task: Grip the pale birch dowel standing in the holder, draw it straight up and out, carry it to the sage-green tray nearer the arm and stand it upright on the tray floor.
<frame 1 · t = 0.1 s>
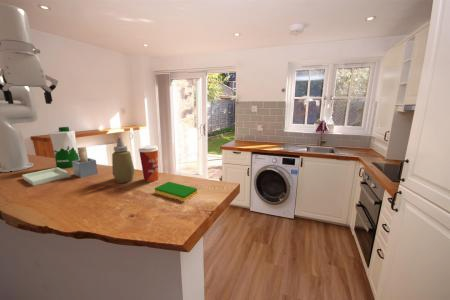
hand: (30, 103, 69), 31 cm above the table, fingers open, 9 cm apart
dowel: (86, 174, 89), point 1 cm above the table, touching holder
milk carton: (68, 167, 101), on the table
squeeze bottle: (124, 181, 83), on the table
holder: (86, 175, 89), on the table
paper cup: (151, 179, 84), on the table
tray: (47, 179, 85), on the table
dish sponge: (176, 195, 71), on the table
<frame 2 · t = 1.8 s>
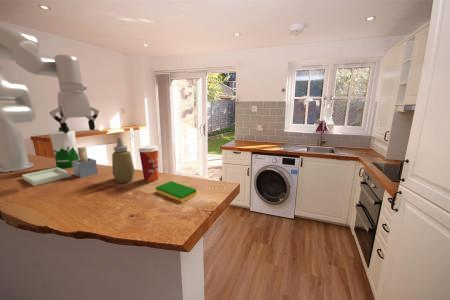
hand: (79, 131, 84), 20 cm above the table, fingers open, 9 cm apart
nothing on the table moved.
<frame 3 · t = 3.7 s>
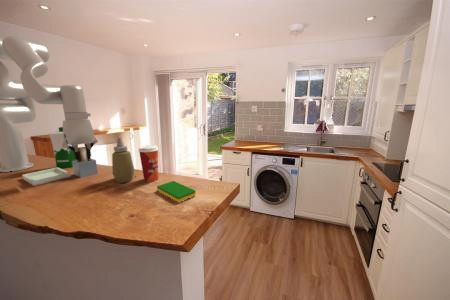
hand: (83, 159, 87), 8 cm above the table, fingers closed on dowel, 3 cm apart
dowel: (86, 174, 89), point 1 cm above the table, touching gripper, holder
everything else where it was.
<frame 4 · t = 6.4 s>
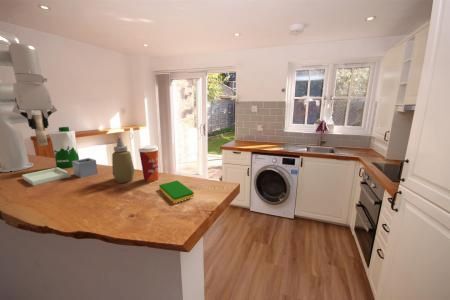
hand: (39, 128, 80), 22 cm above the table, fingers closed on dowel, 3 cm apart
dowel: (43, 144, 82), point 15 cm above the table, touching gripper
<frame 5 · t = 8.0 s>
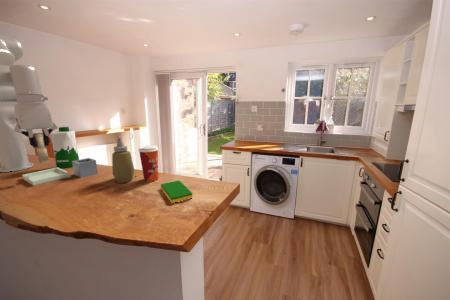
hand: (40, 145, 81), 15 cm above the table, fingers closed on dowel, 3 cm apart
dowel: (44, 162, 83), point 8 cm above the table, touching gripper
when the fingers open (9 cm above the table, at t = 9.2 s): dowel stays where it is, point 1 cm above the table.
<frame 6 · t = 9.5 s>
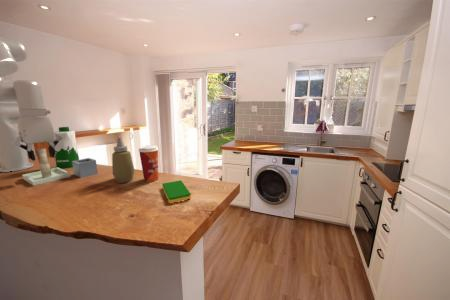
hand: (43, 157, 83), 9 cm above the table, fingers open, 5 cm apart
dowel: (47, 176, 84), point 1 cm above the table
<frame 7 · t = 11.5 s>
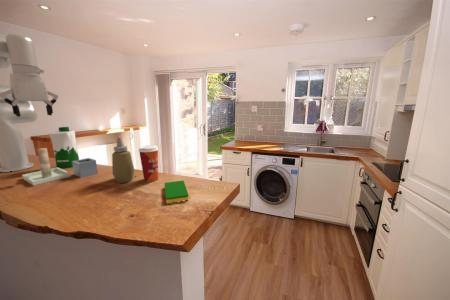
hand: (34, 115, 82), 26 cm above the table, fingers open, 9 cm apart
dowel: (47, 176, 84), point 1 cm above the table, touching tray
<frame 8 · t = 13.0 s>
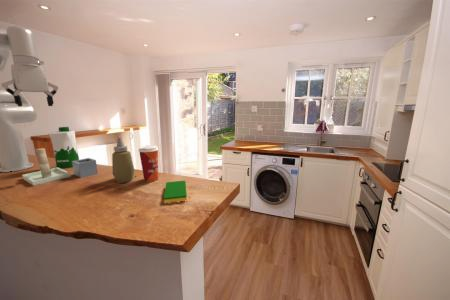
hand: (36, 106, 84), 30 cm above the table, fingers open, 9 cm apart
at the end: dowel inside the target area on the tray (0.0 cm from its centre), point 1.2 cm above the tray's base; dowel tilted 2°; the gripper is holding nothing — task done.
